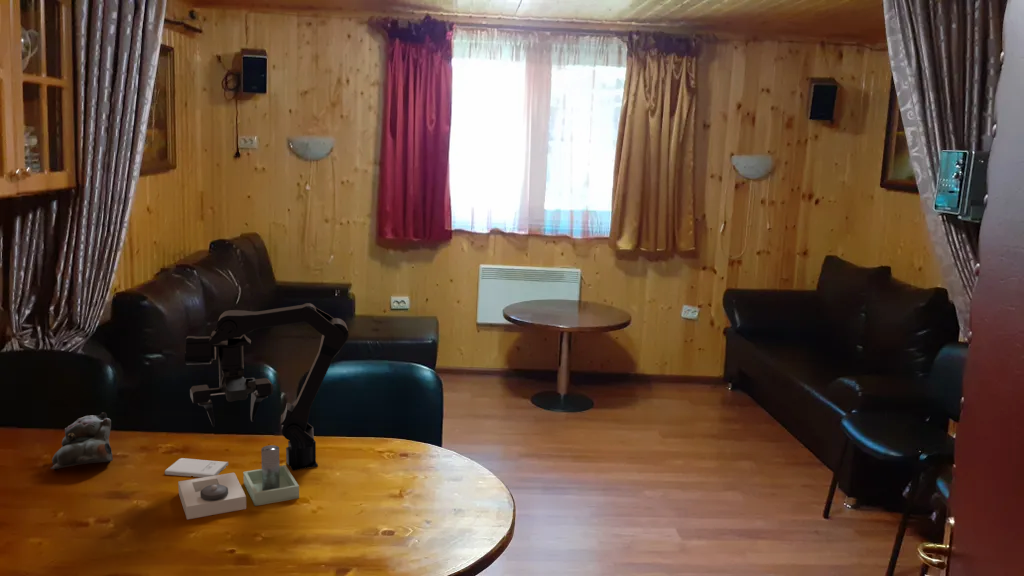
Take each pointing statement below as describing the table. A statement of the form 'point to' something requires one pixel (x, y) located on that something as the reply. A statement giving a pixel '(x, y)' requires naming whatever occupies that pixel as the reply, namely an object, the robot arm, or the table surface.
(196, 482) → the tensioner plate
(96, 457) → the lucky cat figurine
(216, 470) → the external hard drive
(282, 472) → the tray
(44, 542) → the table surface
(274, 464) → the pin
